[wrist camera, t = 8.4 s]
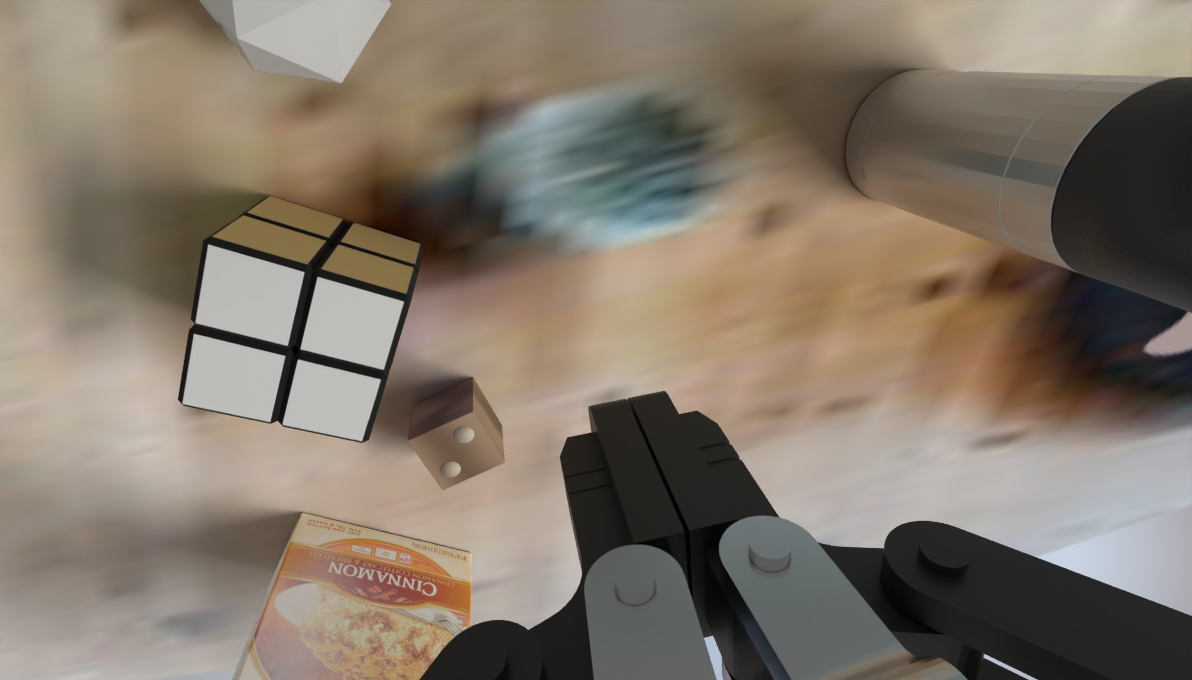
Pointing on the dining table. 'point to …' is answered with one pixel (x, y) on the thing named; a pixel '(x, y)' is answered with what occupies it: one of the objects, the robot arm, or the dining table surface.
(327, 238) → the puzzle cube
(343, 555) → the coffeecake box
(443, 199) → the dining table surface
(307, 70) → the die
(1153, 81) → the robot arm
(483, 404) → the walnut block
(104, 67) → the dining table surface
